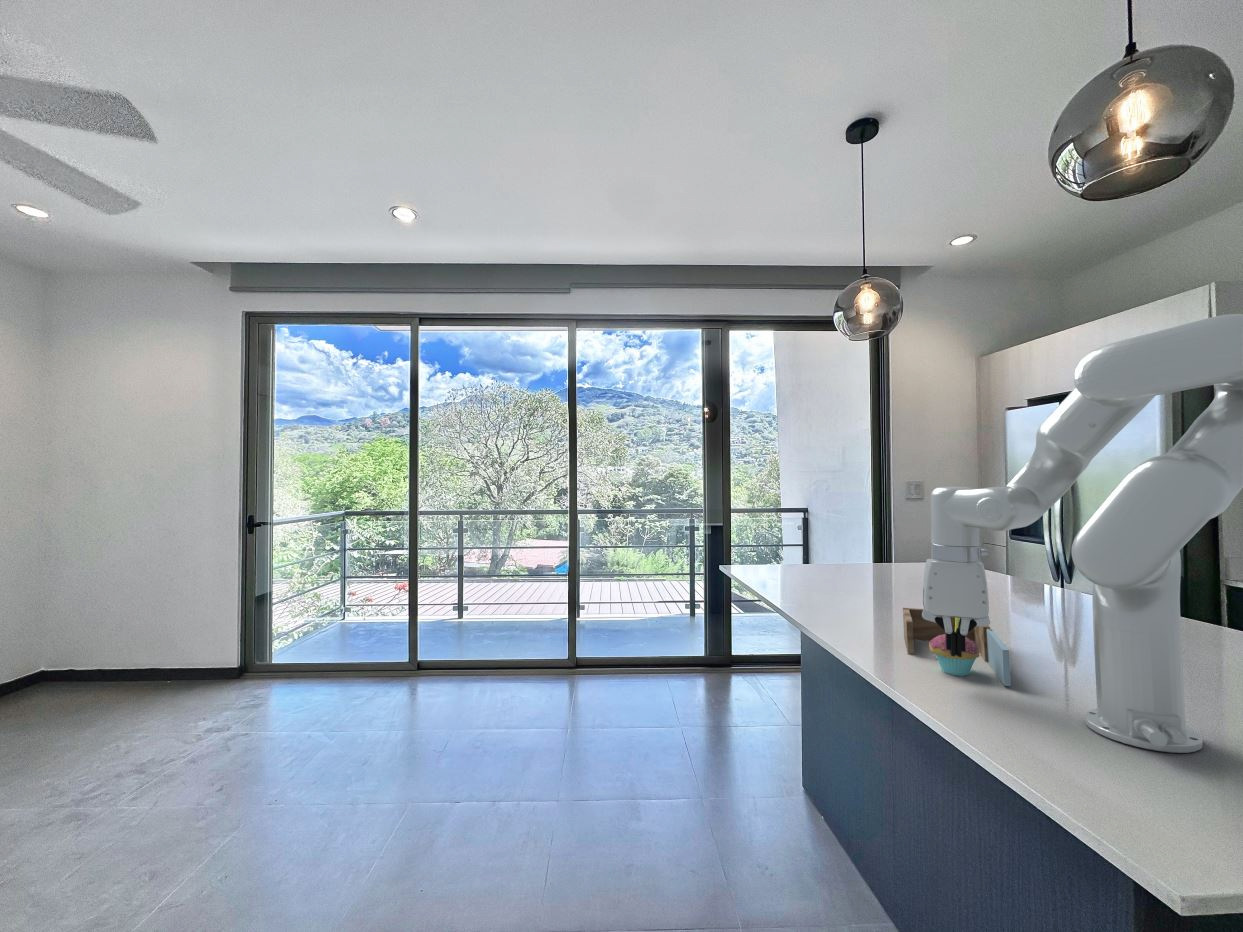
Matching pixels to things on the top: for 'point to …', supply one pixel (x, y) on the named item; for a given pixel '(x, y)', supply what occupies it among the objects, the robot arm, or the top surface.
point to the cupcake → (954, 663)
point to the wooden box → (937, 631)
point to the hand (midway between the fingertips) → (955, 654)
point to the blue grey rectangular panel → (998, 657)
